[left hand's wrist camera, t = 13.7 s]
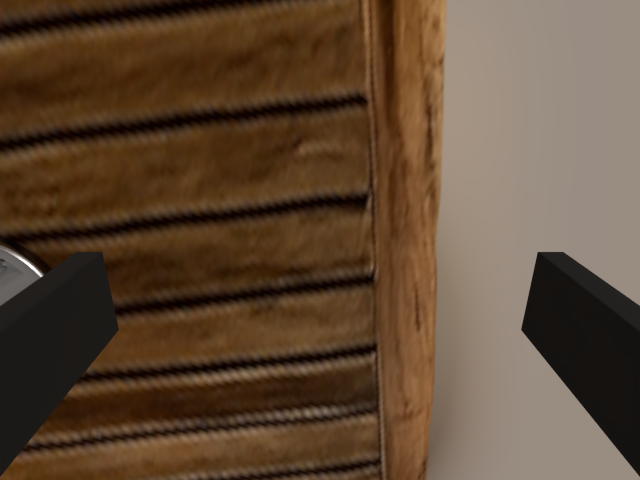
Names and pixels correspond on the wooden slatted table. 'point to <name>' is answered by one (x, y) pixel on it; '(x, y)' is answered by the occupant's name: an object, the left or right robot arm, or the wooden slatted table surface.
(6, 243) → the left robot arm
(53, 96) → the wooden slatted table surface
